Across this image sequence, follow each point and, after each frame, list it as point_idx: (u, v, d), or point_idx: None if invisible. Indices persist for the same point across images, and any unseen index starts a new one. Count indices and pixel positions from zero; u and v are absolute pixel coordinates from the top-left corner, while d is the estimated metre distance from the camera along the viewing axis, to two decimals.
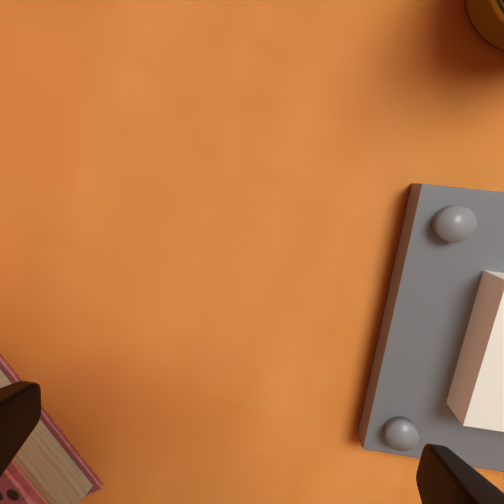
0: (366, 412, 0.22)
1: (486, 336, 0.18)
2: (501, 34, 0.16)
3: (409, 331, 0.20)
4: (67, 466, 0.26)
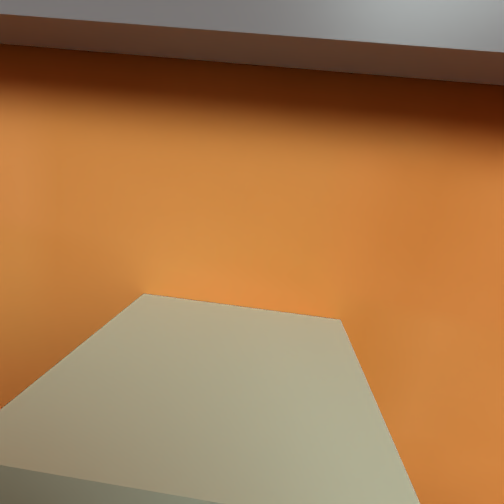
0: None
1: None
2: None
3: None
4: None
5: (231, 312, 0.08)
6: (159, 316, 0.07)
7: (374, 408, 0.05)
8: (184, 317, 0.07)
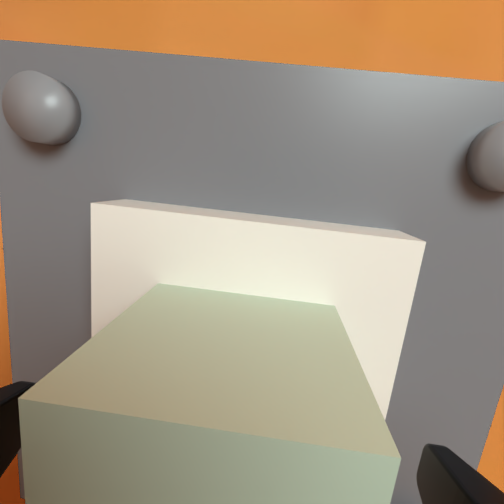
0: None
1: (96, 312, 0.10)
2: None
3: (37, 308, 0.12)
4: None
5: (238, 299, 0.09)
6: (173, 301, 0.08)
7: (360, 372, 0.06)
8: (196, 302, 0.08)
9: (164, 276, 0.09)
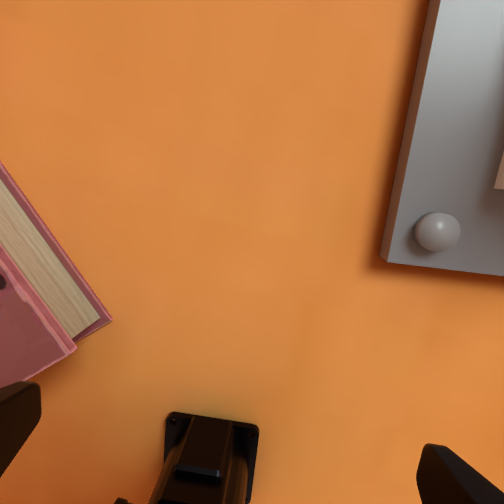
0: (390, 219, 0.18)
1: None
2: None
3: (448, 86, 0.16)
4: (69, 286, 0.21)
5: None
6: None
7: None
8: None
9: None
